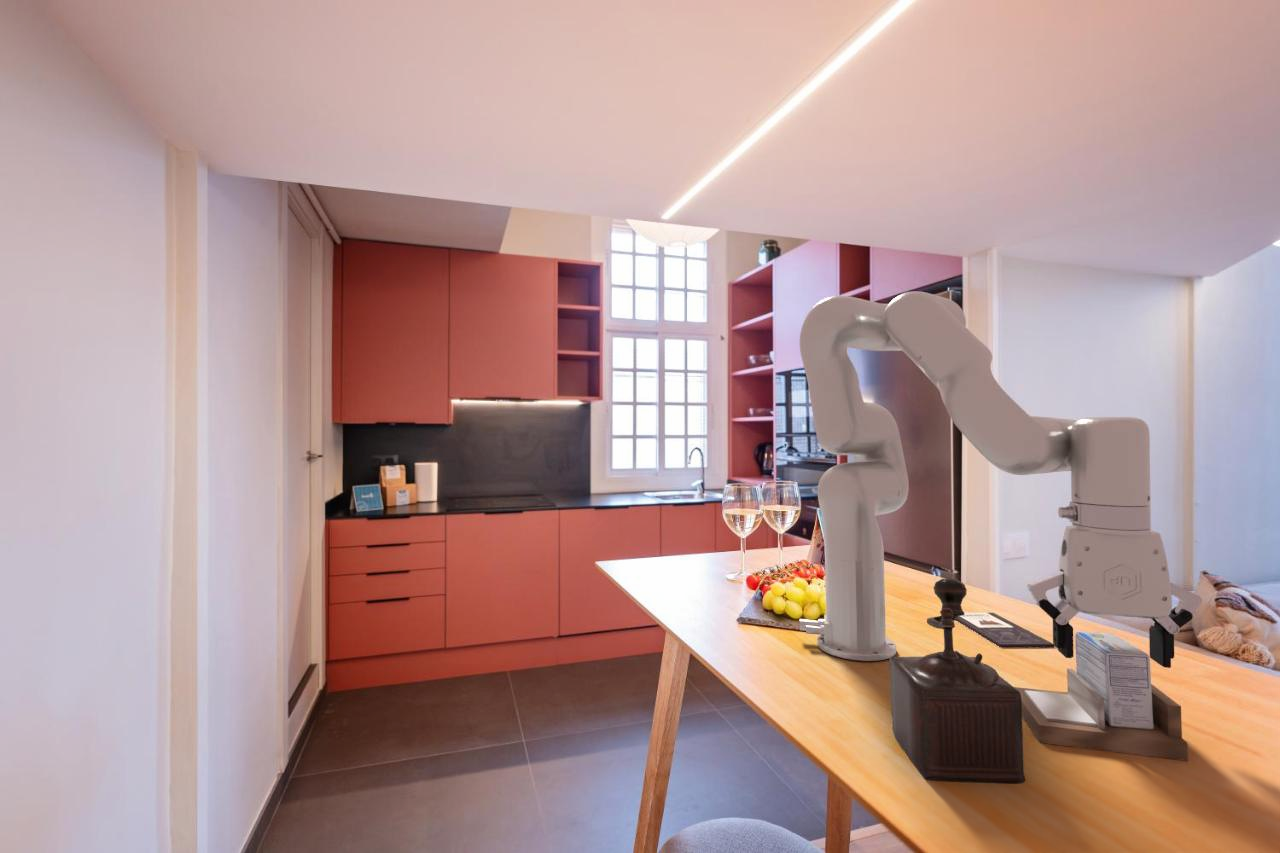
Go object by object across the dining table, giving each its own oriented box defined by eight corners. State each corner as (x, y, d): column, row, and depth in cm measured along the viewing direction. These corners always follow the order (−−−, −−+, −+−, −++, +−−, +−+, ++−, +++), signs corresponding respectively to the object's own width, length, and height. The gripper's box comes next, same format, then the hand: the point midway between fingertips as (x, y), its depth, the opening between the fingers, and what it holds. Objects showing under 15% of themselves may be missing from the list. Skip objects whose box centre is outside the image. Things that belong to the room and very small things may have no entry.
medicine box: (1154, 731, 66) (1152, 655, 66) (1109, 727, 67) (1106, 652, 67) (1116, 701, 74) (1114, 632, 74) (1076, 698, 75) (1073, 630, 75)
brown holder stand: (1039, 742, 68) (1038, 694, 68) (1011, 701, 78) (1010, 660, 79) (1188, 761, 64) (1186, 710, 64) (1136, 715, 74) (1135, 671, 74)
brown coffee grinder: (1034, 785, 60) (1029, 609, 60) (923, 781, 61) (919, 608, 61) (963, 714, 75) (959, 574, 76) (875, 712, 76) (872, 574, 77)
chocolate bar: (1000, 644, 99) (947, 613, 117) (1000, 650, 99) (947, 617, 117) (1054, 644, 98) (993, 612, 116) (1054, 649, 98) (993, 617, 116)
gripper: (1038, 519, 70) (1039, 662, 70) (1218, 526, 65) (1220, 680, 65) (1018, 511, 77) (1020, 640, 77) (1179, 516, 72) (1181, 655, 72)
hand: (1111, 658), depth 71 cm, fingers open, 9 cm apart
